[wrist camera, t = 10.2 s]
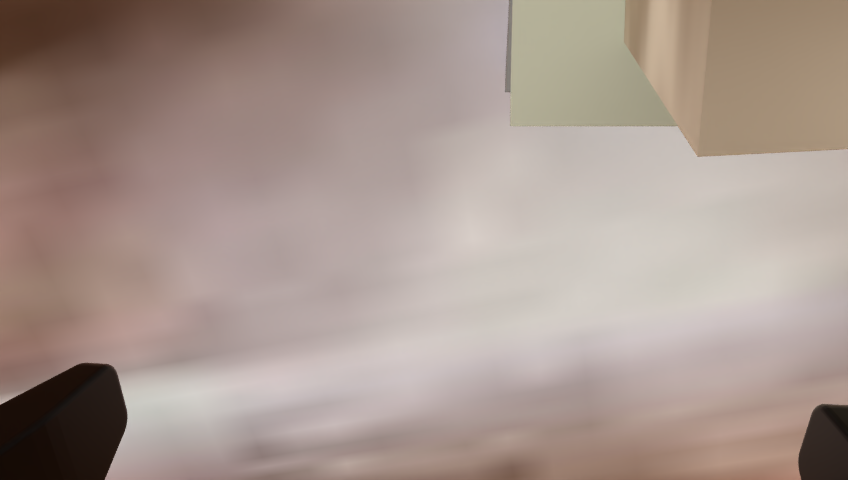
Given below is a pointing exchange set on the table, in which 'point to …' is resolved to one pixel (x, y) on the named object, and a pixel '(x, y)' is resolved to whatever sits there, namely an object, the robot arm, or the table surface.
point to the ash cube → (747, 71)
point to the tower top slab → (577, 67)
